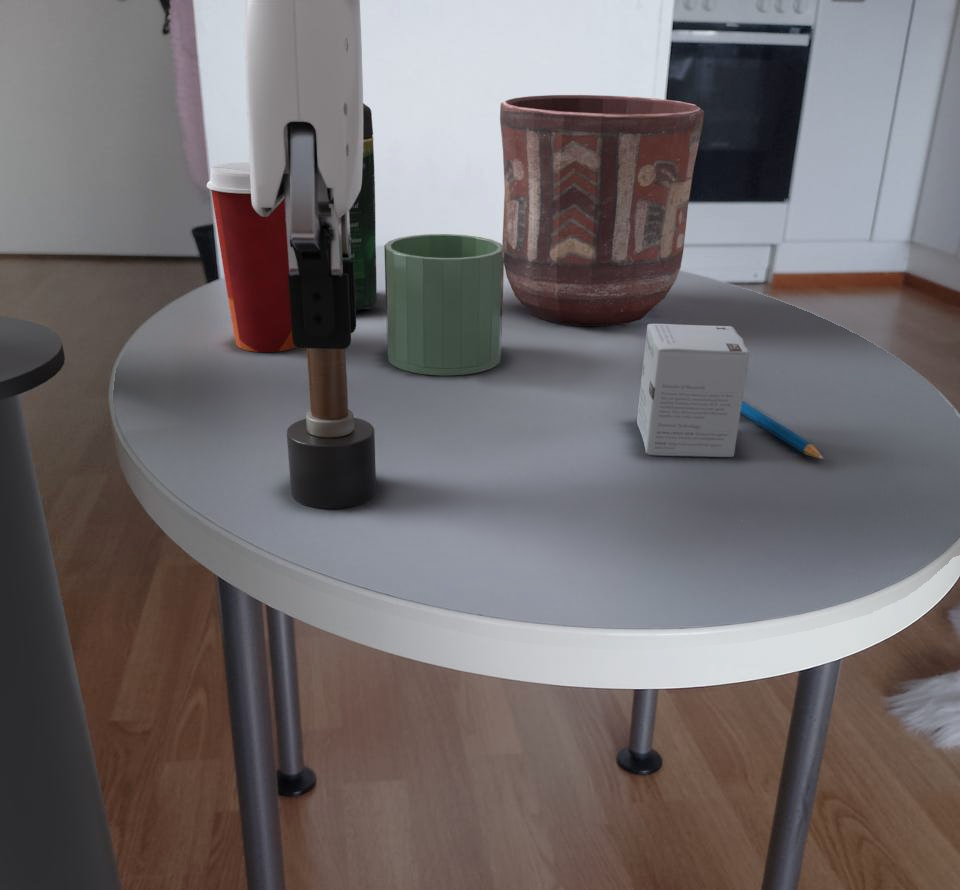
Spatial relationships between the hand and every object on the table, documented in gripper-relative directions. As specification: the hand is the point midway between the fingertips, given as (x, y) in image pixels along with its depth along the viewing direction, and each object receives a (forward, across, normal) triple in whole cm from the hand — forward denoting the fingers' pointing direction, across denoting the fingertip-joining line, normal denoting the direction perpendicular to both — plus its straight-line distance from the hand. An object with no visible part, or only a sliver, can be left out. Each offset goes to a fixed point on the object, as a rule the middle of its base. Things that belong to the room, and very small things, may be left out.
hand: (325, 336), depth 62 cm
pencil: (+10, -14, +29) cm, 33 cm away
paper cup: (+10, -31, -9) cm, 34 cm away
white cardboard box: (+10, -10, +23) cm, 27 cm away
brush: (+10, 0, 0) cm, 10 cm away
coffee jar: (+10, -45, -5) cm, 46 cm away
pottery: (+10, -44, +19) cm, 49 cm away
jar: (+10, -28, +6) cm, 30 cm away
